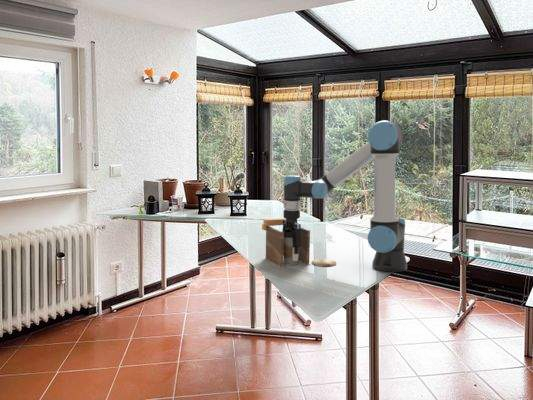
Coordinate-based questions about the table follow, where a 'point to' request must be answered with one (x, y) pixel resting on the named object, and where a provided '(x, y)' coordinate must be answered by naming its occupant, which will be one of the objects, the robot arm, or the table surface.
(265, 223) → the orange notched bar
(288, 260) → the coffee cup
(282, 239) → the cradle
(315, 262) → the coaster
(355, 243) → the table surface
